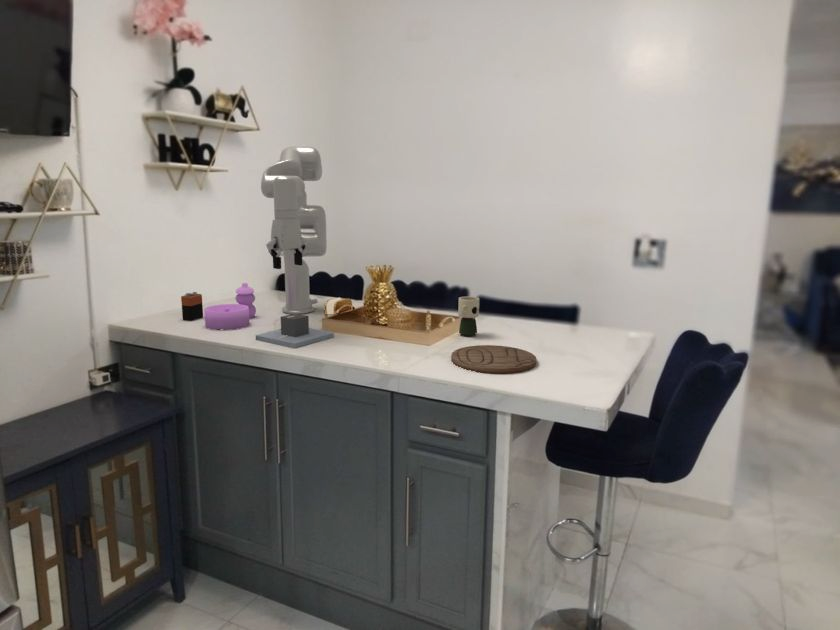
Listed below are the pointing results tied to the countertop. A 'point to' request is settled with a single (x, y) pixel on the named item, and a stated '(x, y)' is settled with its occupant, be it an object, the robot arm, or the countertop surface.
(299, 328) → the dark gray cube
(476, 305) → the character mug
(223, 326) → the container set
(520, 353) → the trivet
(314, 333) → the hub panel
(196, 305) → the battery
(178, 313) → the countertop surface
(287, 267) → the robot arm
